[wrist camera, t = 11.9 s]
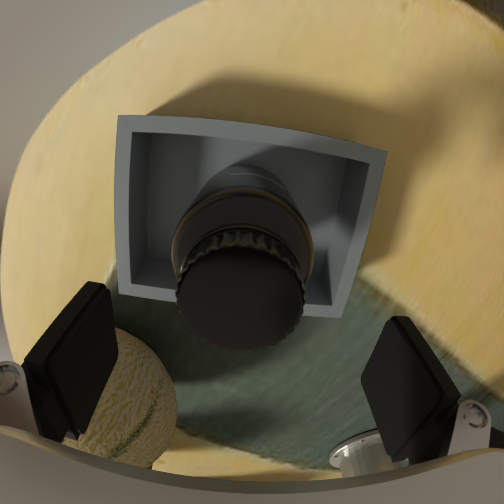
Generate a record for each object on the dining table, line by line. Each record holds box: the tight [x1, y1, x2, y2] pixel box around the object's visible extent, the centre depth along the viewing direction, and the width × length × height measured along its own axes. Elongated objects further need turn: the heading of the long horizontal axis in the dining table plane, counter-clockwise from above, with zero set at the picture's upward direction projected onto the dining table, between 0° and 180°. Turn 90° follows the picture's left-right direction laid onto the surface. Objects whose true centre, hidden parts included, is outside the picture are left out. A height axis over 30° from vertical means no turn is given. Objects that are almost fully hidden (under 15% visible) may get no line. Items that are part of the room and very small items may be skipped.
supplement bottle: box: [171, 165, 314, 352], centre depth 16 cm, size 7×7×12 cm
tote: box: [114, 115, 387, 318], centre depth 20 cm, size 16×12×5 cm
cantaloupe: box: [62, 328, 177, 468], centre depth 22 cm, size 15×15×15 cm
